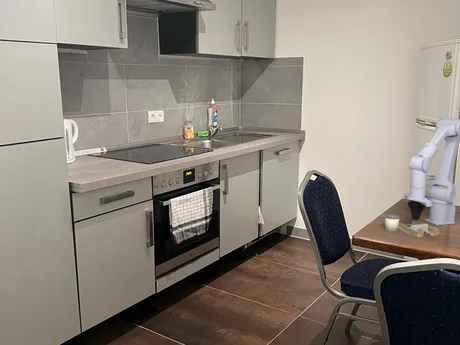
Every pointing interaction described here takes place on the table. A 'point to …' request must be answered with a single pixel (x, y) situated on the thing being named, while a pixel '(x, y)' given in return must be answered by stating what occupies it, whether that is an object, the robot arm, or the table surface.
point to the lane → (419, 232)
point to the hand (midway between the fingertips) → (415, 219)
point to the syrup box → (429, 179)
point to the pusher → (421, 227)
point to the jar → (392, 222)
